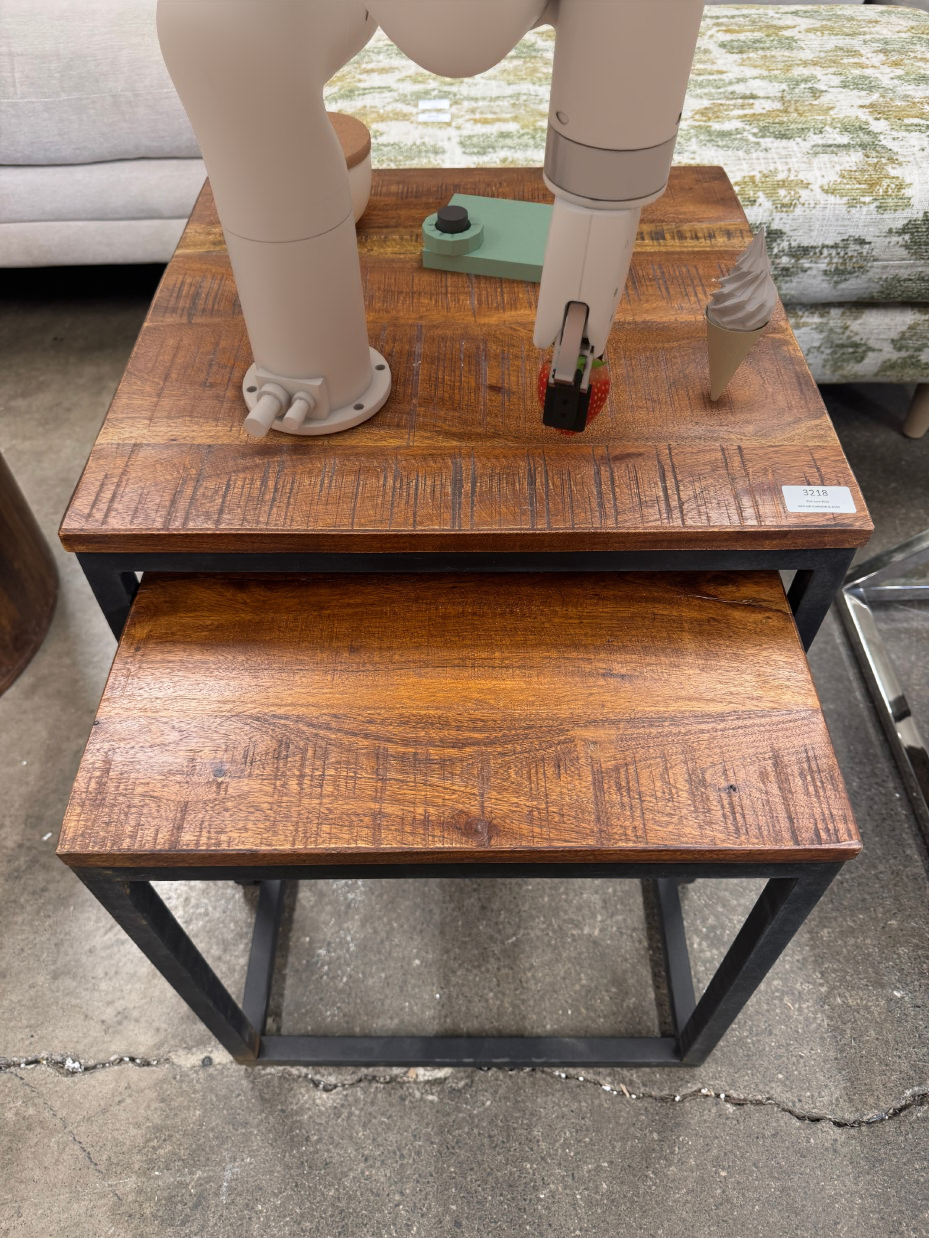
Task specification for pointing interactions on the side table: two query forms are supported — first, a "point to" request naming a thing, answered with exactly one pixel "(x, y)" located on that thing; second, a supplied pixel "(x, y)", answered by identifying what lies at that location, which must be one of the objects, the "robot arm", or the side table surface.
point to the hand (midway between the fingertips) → (571, 400)
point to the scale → (491, 239)
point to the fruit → (597, 379)
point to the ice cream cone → (739, 313)
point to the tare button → (452, 219)
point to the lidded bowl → (355, 158)
